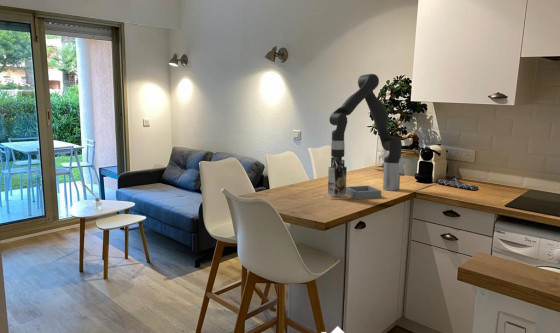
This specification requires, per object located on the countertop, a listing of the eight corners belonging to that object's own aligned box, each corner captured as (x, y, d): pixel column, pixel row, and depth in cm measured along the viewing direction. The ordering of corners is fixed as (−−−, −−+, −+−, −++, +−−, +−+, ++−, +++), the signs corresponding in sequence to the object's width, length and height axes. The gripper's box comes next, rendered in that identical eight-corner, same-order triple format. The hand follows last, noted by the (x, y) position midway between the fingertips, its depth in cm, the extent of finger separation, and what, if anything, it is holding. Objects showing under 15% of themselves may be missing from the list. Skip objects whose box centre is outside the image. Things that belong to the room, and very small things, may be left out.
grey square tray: (368, 191, 255) (368, 185, 254) (380, 197, 240) (381, 190, 239) (344, 193, 251) (344, 186, 250) (355, 199, 236) (355, 192, 235)
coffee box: (335, 196, 236) (335, 168, 233) (327, 194, 241) (327, 167, 238) (346, 194, 241) (347, 166, 239) (338, 192, 246) (338, 165, 244)
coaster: (342, 194, 248) (342, 193, 248) (350, 198, 237) (350, 197, 237) (323, 195, 245) (323, 194, 245) (331, 199, 234) (331, 198, 234)
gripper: (349, 149, 231) (348, 178, 233) (339, 146, 245) (338, 174, 247) (336, 149, 229) (336, 178, 232) (327, 147, 243) (326, 174, 245)
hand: (337, 176), depth 239 cm, fingers closed on coffee box, 8 cm apart
